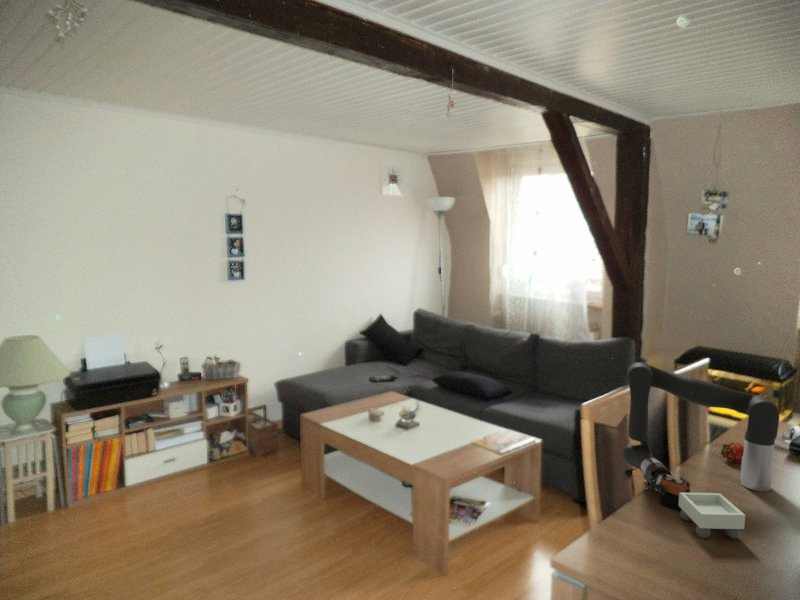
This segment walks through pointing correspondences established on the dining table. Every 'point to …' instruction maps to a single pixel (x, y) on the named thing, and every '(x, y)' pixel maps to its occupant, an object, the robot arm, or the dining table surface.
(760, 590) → the dining table surface
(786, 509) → the dining table surface
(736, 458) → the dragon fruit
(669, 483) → the battery
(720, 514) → the cart
